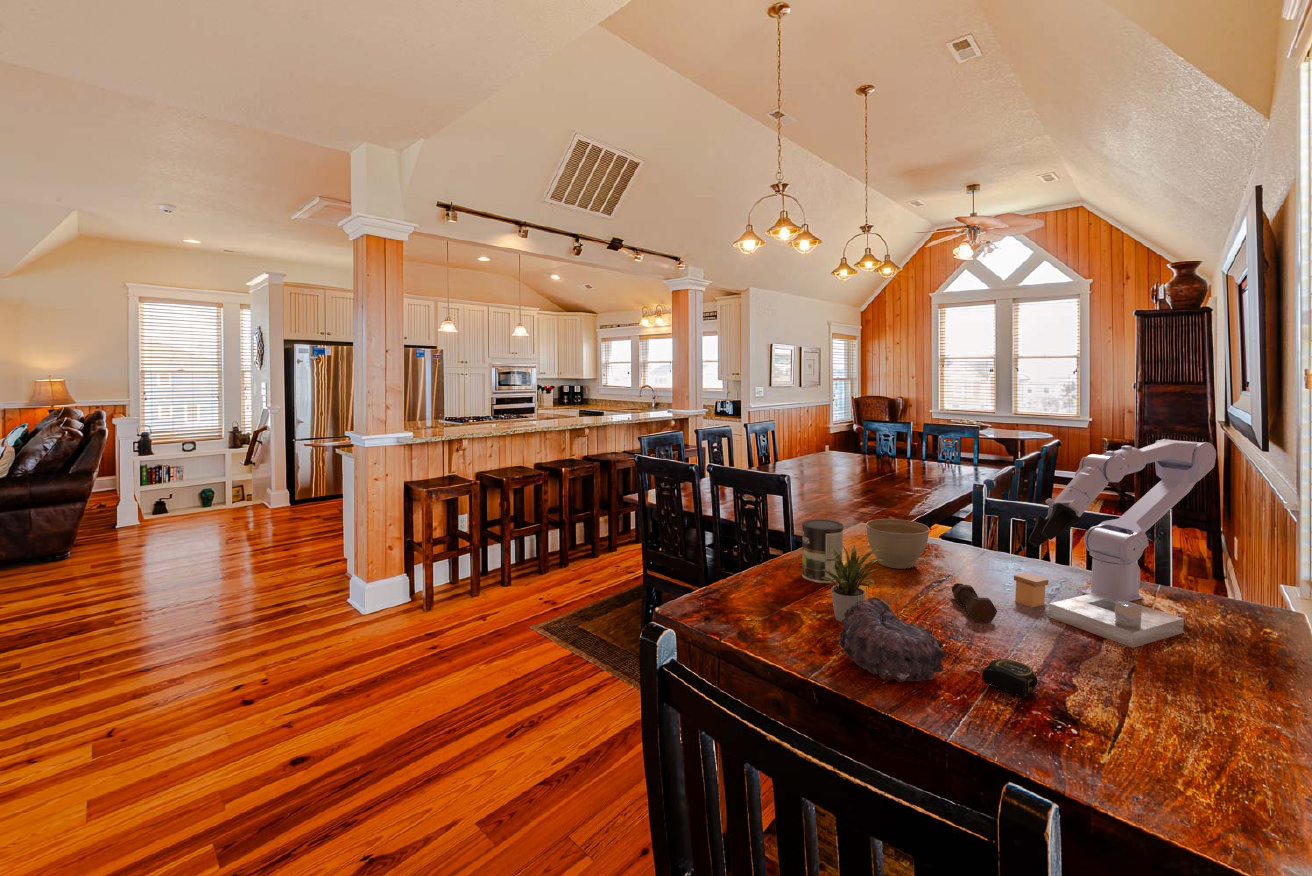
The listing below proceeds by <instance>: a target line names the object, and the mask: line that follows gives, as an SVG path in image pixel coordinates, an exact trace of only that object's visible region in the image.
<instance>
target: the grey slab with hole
mask: <svg viewBox="0 0 1312 876" xmlns="http://www.w3.org/2000/svg"><path fill="white" fill-rule="evenodd" d="M1048 618H1051V619H1053V620H1056V621H1058V622H1061V623H1064V624H1067V625H1069V626H1072V627H1075V628H1076V629H1077V628H1078V629H1080V630H1083V631H1086V632H1089V633H1091V634H1094V635H1096V636H1098V637H1102V638H1104V639H1107V640H1110V641H1113V642H1116V643H1119V644H1121V645H1123V646H1126V647H1129V648H1131V649H1134V648H1137V647H1141V646H1144V645H1148V644H1151V643H1154V642H1157V641H1160V640H1164V639H1168V638H1171V637H1174V636H1177V635H1181V634H1183V633H1184V625H1185V618H1183V617H1181V616H1177V615H1174V614H1172V613H1167V612H1166V611H1165V612H1164V611H1162V610H1159V609H1153V608H1151V607H1148V606H1144V605H1141V604H1138V603H1135V602H1133V601H1125V600H1122V599H1119V598H1115V597H1112V596H1109V595H1106V594H1102V593H1099V592H1096V593H1091V594H1087V595H1086V594H1083V595H1078V596H1076V597H1071V598H1066V599H1063V600H1057V601H1054V602H1050V603H1048Z"/></svg>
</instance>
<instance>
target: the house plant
mask: <svg viewBox="0 0 1312 876" xmlns="http://www.w3.org/2000/svg"><path fill="white" fill-rule="evenodd" d="M840 544H841V543H840ZM841 545H842V544H841ZM829 547H830V546H829ZM842 547H843V550H844V552H845V553H844V554H845V557H846V562H843V558H842V559H841V557H840V555H839V554H838V553H837V552H836V551H835V550H834V549H833V548H832V547H830V548H831V550H832V552H833V554H834V557H835V559H836V561H835V567H834V566H833V567H834V569H835V570H836V573H837V576H838V577H839V578H838V577H837V576H836V575H834V574H833V573H831V572H829V571H827V570H824V569H822V570H823V571H825V572H826V573H827V574H828V575H830V576H831V577H833V578H834V579H835V580H836V583H837V584H836V583H835V582H834V581H833V580H831V579H830V578H828V577H822V578H823V579H826V580H829V581H831V582H833V583H832V584H834V585H833V586H832V587H831V589H830V592H831V598H832V605H833V606H832V607H833V610H834V611H833V612H834V619H835V620H836V621H839V622H840V623H842V620H843V619H844V618H845V615H844V613H846V611H847V609H848V608H851V606H852V605H854V604H855V603H856V602H857V601H863V600H866V599H865V598H866V592H867V591H866V590H865V589H863V588H861V587H860V586H862V587H868V588H870V589H872V587H871V585H870V584H869V583H866V582H871V583H872V584H873V585H875V580H874V579H873V578H867V577H868V576H870V575H871V573H872V572H874V571H877V570H879V568H875V569H873V568H872V569H871V570H869V571H866V570H867V569H868V568H869V566H870V565H871V564H872V563H874V562H875V561H877V560H881V558H877V557H876V558H873V559H871V560H870V561H869V562H868V563H867V564H866V565H865V566H864V567H863V568H862V569H861V567H862V566H863V565H864V563H865V562H866V560H867V559H868V558H869V557H870V556H872V554H874V552H875V551H879V550H881V549H879V550H873V551H872V550H870V551H868V552H866V554H865V555H863V554H861V555H858V553H857V550H856V546H855V544H852V546H851V550H850V551H851V553H850V554H851V555H849V552H848V550H847V549H846V548H845V546H844V545H842ZM816 554H817V553H816ZM819 555H820V554H819ZM857 555H858V556H857ZM821 556H822V555H821ZM861 556H862V558H860V557H861ZM823 557H824V556H823ZM824 558H825V557H824ZM881 561H885V560H881ZM829 562H830V561H829ZM830 563H831V562H830ZM865 581H866V582H865Z"/></svg>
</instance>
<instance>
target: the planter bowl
mask: <svg viewBox="0 0 1312 876" xmlns="http://www.w3.org/2000/svg"><path fill="white" fill-rule="evenodd" d="M865 527H866V537H867V541H868V545H869V547H870V549H871V551H873V550H879V549H881V550H879V551H875V552H874V553H873V554H874V556H875V557H876V558H881V560H885V561H881V560H876V561H877V563H878V564H879V565H881V566H883V567H887V568H890V569H891V568H892V569H902V570H903V569H904V570H907V569H911V567H912V568H914V567H915V566H914V565H916V562H917V561H918V560H919V559H920V557H922V555H923V553H924V552H925V550H926V547H927V544H928V539H929V534H930V528H929V526H928V525H925V524H924V523H920V522H917V521H914V520H913V521H911V520H906V519H897V518H881V519H880V518H877V519H872V520H867V522H866V523H865ZM913 566H914V567H913ZM906 568H907V569H906Z"/></svg>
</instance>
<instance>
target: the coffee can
mask: <svg viewBox="0 0 1312 876" xmlns="http://www.w3.org/2000/svg"><path fill="white" fill-rule="evenodd" d="M801 526H802V548H801V549H802V553H801V554H802V562H801V563H802V564H801V565H802V568H801V569H802V570H801V571H802V573H801V576H802V578H803V579H805V580H806V581H809V582H813V583H817V584H818V583H819V584H834V583H833V582H831V581H829V580H826V579H823V578H822V577H828V578H830V579H831V580H833V581H834V582H835V584H836V583H837V582H836V580H835V579H834V578H833V577H831V576H830V575H828V574H827V573H826V572H825V571H823V570H822V569H824V570H827V571H829V572H831V573H833V574H834V575H836V576H837V573H836V570H835V569H834V567H835V561H836V559H835V557H834V554H833V552H832V550H831V548H830V547H832V548H833V549H834V550H835V551H836V552H837V553H838V554H839V555H840V557H841V559H842V560H843V550H844V549H843V547H842V545H843V544H844V541H843V540H844V539H843V538H844V524H843V523H842V522H839V521H836V520H832V519H821V518H819V519H818V518H817V519H815V518H814V519H808V520H805V521H803V522H802V524H801ZM840 543H841V544H842V545H841V544H840ZM829 546H830V547H829ZM843 546H844V545H843ZM816 553H817V554H816ZM819 554H820V555H819ZM821 555H822V556H821ZM823 556H824V557H825V558H824V557H823ZM829 561H830V562H831V563H830V562H829ZM833 566H834V567H833ZM837 577H838V576H837ZM838 578H839V577H838Z"/></svg>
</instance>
